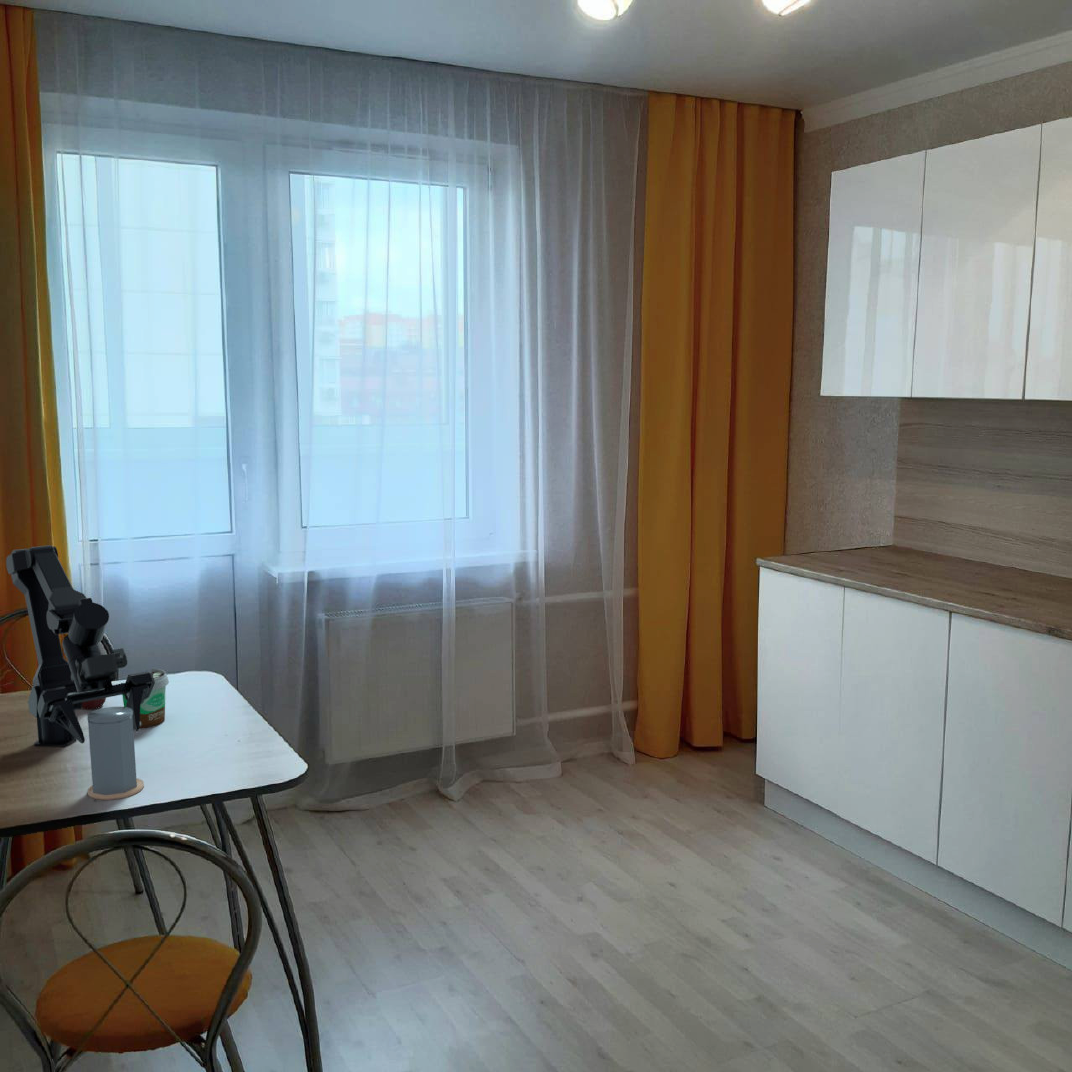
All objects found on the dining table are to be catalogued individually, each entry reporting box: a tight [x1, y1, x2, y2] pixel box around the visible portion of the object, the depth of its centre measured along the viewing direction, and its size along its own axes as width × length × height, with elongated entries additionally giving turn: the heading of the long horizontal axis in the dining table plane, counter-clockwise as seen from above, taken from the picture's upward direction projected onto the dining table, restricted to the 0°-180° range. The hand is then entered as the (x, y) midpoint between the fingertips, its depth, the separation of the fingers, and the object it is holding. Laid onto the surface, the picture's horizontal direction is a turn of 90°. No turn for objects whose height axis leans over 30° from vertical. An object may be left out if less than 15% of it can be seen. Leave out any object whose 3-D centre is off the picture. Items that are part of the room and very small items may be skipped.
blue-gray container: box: [86, 706, 138, 795], centre depth 183 cm, size 7×7×13 cm
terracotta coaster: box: [87, 777, 145, 801], centre depth 184 cm, size 9×9×1 cm
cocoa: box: [81, 698, 107, 711], centre depth 230 cm, size 10×6×12 cm, turn 24°
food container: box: [120, 667, 170, 731], centre depth 219 cm, size 12×6×10 cm, turn 168°
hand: (111, 736), depth 183 cm, fingers open, 9 cm apart
